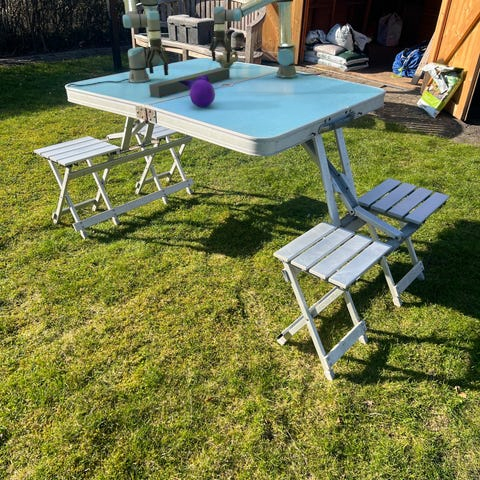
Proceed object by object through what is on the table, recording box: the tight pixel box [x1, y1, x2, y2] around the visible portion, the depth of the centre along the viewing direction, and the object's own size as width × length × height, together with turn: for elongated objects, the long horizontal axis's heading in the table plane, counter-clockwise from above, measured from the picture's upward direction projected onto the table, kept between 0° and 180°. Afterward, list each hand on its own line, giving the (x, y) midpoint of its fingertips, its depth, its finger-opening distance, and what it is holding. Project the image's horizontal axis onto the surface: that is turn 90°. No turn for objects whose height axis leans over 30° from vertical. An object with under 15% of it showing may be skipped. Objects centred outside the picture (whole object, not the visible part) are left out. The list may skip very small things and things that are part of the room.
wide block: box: [148, 67, 231, 99], centre depth 317 cm, size 74×9×7 cm, turn 143°
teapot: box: [215, 48, 239, 69], centre depth 378 cm, size 21×12×15 cm, turn 120°
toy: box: [179, 76, 216, 109], centre depth 267 cm, size 16×18×27 cm
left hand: (158, 74), depth 291 cm, fingers open, 13 cm apart
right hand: (221, 61), depth 335 cm, fingers open, 13 cm apart
